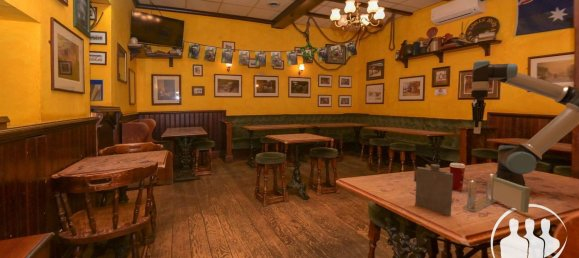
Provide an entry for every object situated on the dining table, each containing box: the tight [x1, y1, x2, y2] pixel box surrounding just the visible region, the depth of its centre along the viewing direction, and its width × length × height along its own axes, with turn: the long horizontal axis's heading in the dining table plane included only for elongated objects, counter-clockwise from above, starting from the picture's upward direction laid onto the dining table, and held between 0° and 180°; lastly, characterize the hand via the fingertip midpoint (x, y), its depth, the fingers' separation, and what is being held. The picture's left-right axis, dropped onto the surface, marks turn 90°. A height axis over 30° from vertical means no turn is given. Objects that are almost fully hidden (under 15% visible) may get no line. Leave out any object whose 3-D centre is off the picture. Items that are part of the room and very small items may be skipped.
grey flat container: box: [413, 164, 431, 182], centre depth 178 cm, size 11×3×10 cm, turn 113°
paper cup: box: [449, 162, 466, 192], centre depth 160 cm, size 8×8×14 cm
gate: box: [493, 178, 531, 214], centre depth 130 cm, size 18×2×10 cm, turn 3°
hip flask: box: [414, 163, 453, 217], centre depth 128 cm, size 16×4×20 cm, turn 32°
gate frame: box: [462, 172, 498, 213], centre depth 135 cm, size 25×5×13 cm, turn 127°
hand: (476, 133), depth 161 cm, fingers closed
